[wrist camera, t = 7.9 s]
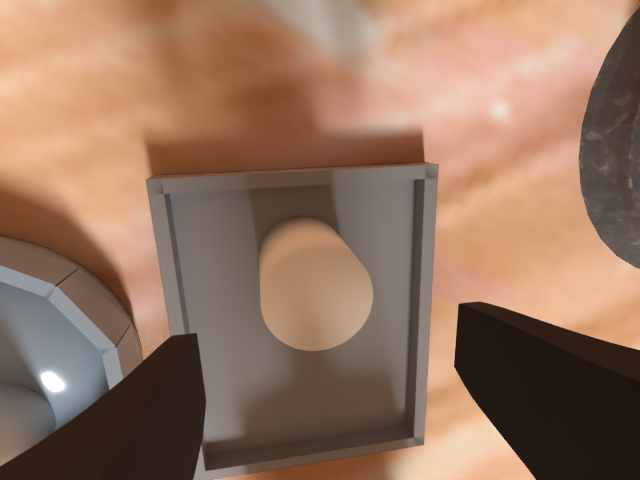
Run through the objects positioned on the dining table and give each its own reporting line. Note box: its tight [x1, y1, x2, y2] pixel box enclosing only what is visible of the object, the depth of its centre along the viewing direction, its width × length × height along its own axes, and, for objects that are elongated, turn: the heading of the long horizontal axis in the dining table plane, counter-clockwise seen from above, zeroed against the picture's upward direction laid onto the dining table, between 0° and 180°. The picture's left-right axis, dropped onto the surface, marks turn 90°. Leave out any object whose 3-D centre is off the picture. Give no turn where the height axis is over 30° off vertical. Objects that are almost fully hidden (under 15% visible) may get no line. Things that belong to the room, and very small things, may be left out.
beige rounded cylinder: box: [259, 216, 373, 351], centre depth 16 cm, size 4×4×5 cm
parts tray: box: [146, 162, 439, 480], centre depth 19 cm, size 15×12×1 cm
